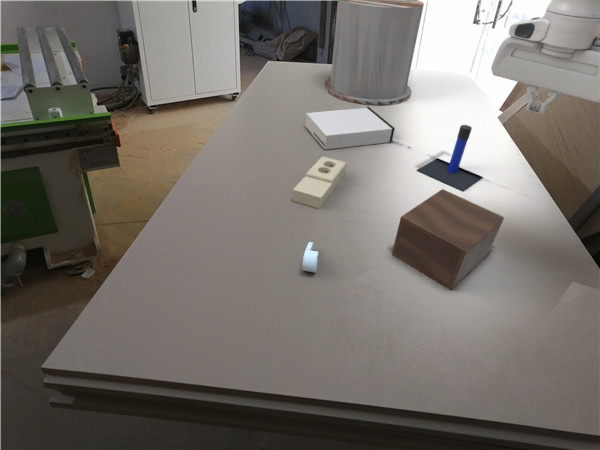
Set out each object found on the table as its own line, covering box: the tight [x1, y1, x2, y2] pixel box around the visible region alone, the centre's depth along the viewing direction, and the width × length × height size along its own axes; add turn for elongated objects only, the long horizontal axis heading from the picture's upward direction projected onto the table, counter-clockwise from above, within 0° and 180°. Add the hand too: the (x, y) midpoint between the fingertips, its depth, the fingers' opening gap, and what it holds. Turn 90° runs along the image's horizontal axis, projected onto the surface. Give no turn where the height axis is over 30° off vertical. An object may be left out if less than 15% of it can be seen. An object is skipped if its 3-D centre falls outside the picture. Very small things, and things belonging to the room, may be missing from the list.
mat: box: [416, 157, 484, 192], centre depth 112 cm, size 14×14×1 cm
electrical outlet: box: [291, 155, 348, 210], centre depth 101 cm, size 7×4×18 cm
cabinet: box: [391, 188, 505, 291], centre depth 81 cm, size 16×14×10 cm
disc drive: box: [304, 106, 395, 150], centre depth 127 cm, size 18×22×5 cm
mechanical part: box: [301, 241, 319, 273], centre depth 79 cm, size 8×2×4 cm, turn 169°
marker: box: [448, 124, 473, 173], centre depth 108 cm, size 3×3×13 cm
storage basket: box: [324, 0, 425, 106], centre depth 155 cm, size 35×35×32 cm
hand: (534, 111), depth 77 cm, fingers closed
